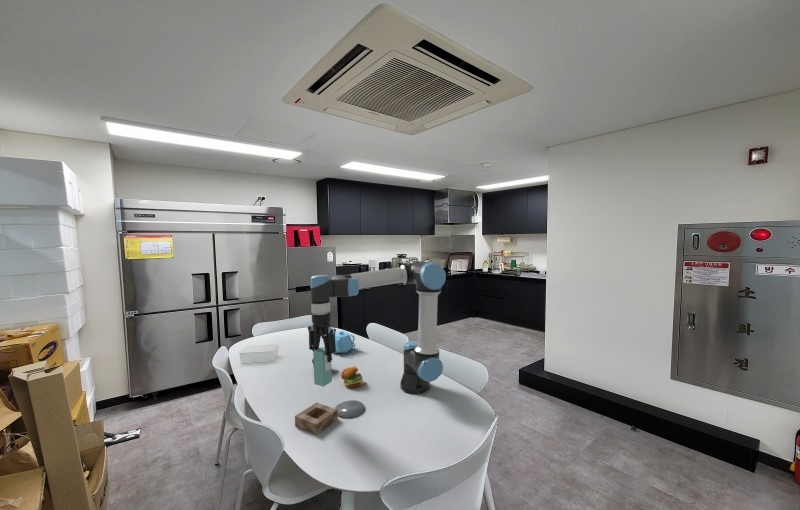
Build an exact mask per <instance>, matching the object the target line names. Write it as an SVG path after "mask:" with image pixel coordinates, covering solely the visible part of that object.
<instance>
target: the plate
mask: <svg viewBox="0 0 800 510" xmlns="http://www.w3.org/2000/svg"><path fill="white" fill-rule="evenodd" d="M334 409H337V410H338V418H342V419H352V418H357V417H359V416H360V415H362V414H363V413H364V411H365V404H364V403H363V402H361V401H359V400H353V399H352V400H351V399H350V400H345V401H341V402H340V403H338V404H337V405H336V406H335V407H334Z"/></svg>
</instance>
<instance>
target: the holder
mask: <svg viewBox="0 0 800 510" xmlns="http://www.w3.org/2000/svg"><path fill="white" fill-rule="evenodd" d="M316 417H317V418H316ZM338 419H339V416H338V410H337V409H335V407H331V406H328V405H325V404H323V403H319V402H318V401H317V402H314V403H313V404H312V405H310V406H309V407H307V408H305V409H304V410H303V411H301V412H299V413H297V414H296V415H294V426H295V427H297V428H300V429H302V430H304V431H307V432H310V433H312V434H314V435H319V434H320V433H321V432H322V431H324V430H325V429H326V428H328V427H329V426H330V425H331V424H333V423H334V422H336V421H337V420H338Z"/></svg>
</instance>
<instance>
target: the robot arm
mask: <svg viewBox="0 0 800 510" xmlns="http://www.w3.org/2000/svg"><path fill="white" fill-rule="evenodd" d="M446 278H447V276H446V271H445V269H444V268H443V267H442V266H441V265H440V264H438V263H435V262H434V261H433V262H432V261H424V260H423V261H415V262H411V263H406V264H400V267H393V268H386V269H378V270H371V271H364V272H356V273H350V274H335V276H333V277H332V278H330V276H329V275H328V274H316V275H313V276H311V277H310V303H311V304H310V305H311V306H310V307H311V308H310V309H311V311H310V312H311V323H312V325H309V326H307V330H308V331H307V332H308V349H309V351H312V352H313V351H314V350H316V349H318V348H320V344H321V343H320V342H321V339H322V341H323V345H324V347H325V351H326V354H325V370H326V371H327V370H329V369H331V368H332V361H333V356H332V355H333V354H335V353H334V352H336V345H335V333H337V330H336V328H332V327H331V324H330V322H331V299H332V298H343V297H345V298H346V297H353V296H354V297H355V296H357V295H358V294H359V291H360V290H361V289H368V288H374V287H379V286H380V287H382V286H386V285H387V286H388V285H393V284H404V285H406V284H414V285H415V292H416V293H417V294H418V324H417V325H418V326H417V327H418V329H417V340H415V341H408V342H405V343H404V344H403V350H402V351H403V373H402V377H401V380H400V383H399V384H400V385H399V387H400V390H402V392H404V393H407V394H413V395H419V394H424V393H427V392H428V391H429V390H430V389H431V382H434V381H437V380H438V378H439V377H441V375H442V373H443V371H444V364H443V362H442V361H441V359H440V349H439V347H438V346H437V335H438V334H437V333H438V331H437V330H438V329H437V327H438V326H437V325H438V296H439V295H440V294H441V292H442V287H443V286H444V285H445V283H446V280H447V279H446ZM313 358H314V357H312V359H313Z"/></svg>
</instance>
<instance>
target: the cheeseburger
mask: <svg viewBox="0 0 800 510" xmlns="http://www.w3.org/2000/svg"><path fill="white" fill-rule="evenodd" d="M358 371H359V368H358V367H356V366H351V367H347V368H344V369H343V370H342V371H341V375H340V376H341V379H342V380H343V384H344V385H345V387H347V388H356V387H358V386H363V384H364V380H363V374H361V373H358Z"/></svg>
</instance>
